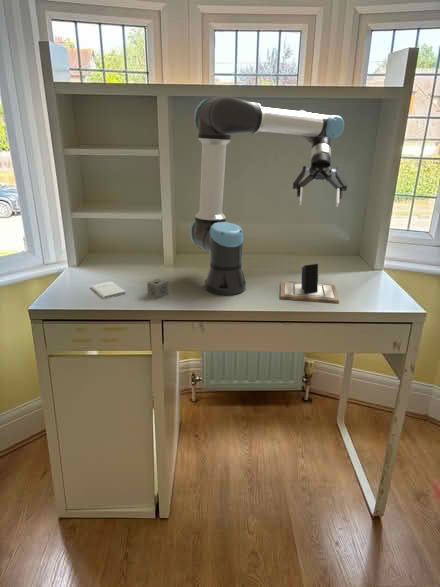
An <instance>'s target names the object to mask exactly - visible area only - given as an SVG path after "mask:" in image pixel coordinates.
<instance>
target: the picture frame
mask: <svg viewBox="0 0 440 587" xmlns="http://www.w3.org/2000/svg"><path fill="white" fill-rule="evenodd" d="M301 283H302V281H301V282H299V281H286V280H285V281H284V280H281V281H280V296H279V297H280V300H289V301H290V300H291V301H306V302H318V303H319V302H320V303H330V304H331V303H334V304H339V303H340V299H339V295H338V291H337V288H336V284H331V283H330V284H329V283H318V290H317V292H315V293H309V294H304V290H303V289H302V288H301Z"/></svg>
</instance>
